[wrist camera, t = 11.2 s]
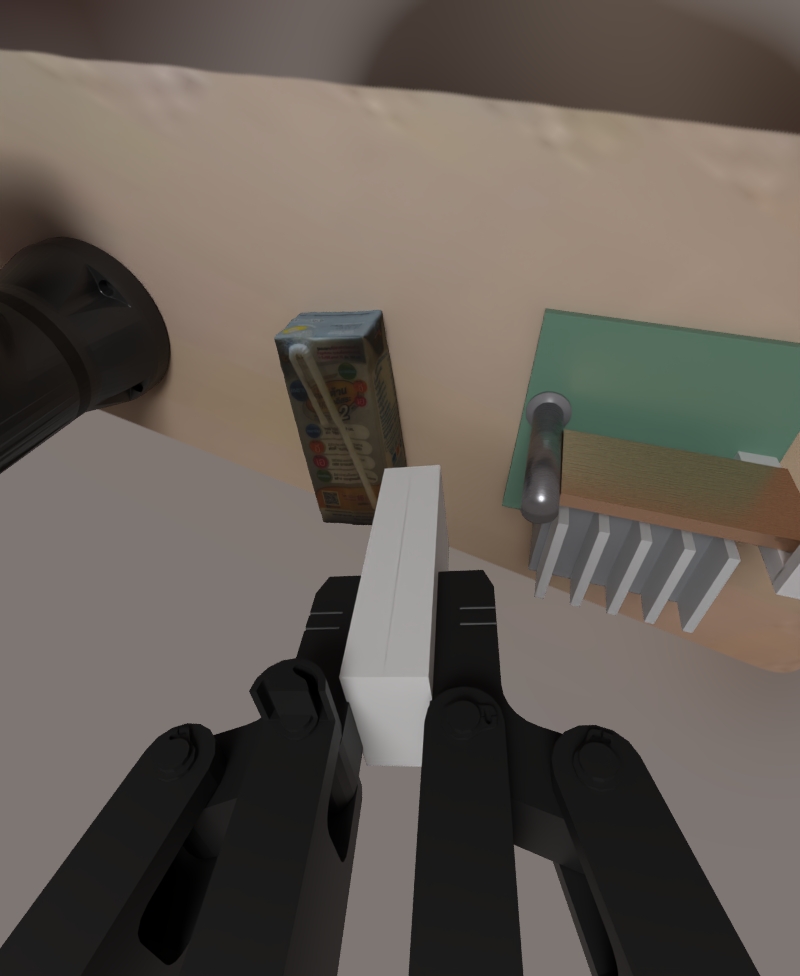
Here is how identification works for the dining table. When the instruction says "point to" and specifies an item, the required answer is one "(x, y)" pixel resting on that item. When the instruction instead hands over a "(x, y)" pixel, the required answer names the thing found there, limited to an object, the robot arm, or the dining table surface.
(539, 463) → the hinge
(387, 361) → the beverage carton
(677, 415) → the heat sink
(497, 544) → the dining table surface
